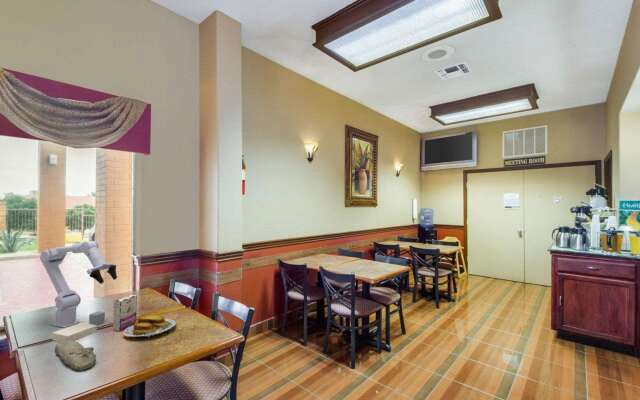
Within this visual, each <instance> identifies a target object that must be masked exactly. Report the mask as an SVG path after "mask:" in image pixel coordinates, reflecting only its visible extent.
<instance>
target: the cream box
mask: <svg viewBox="0 0 640 400" xmlns="http://www.w3.org/2000/svg"><path fill="white" fill-rule="evenodd" d="M97 327H98V326H97V325H92V324H89V323H85V322H80V323H77V324H74V325H71V326H68V327H65V328H64V327H63V328H62V329H59V330H57V331H53V332H51V341H55V342H58V343H59V342H60V341H63V340H67V339H74V341H78V340H80V339H83V338H86V337H87V336H90V335H94V334H96V333H97V331H98V329H97Z"/></svg>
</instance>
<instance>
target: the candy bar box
mask: <svg viewBox="0 0 640 400" xmlns="http://www.w3.org/2000/svg"><path fill="white" fill-rule="evenodd" d="M137 298H138V295H137V294H128V295H126V296H122V297H119V298H117V299H114V300H113V310H112V311H113V312H112V313H113V314H112V315H113V316H112V322H113V323H112V331H116V332H117V331H118V332H122V331H124V330H125V329H126V328H128V327H130V326H133V325H134V324H135V323H136V322H137V309H138V308H137V307H138V305H137V304H138V303H137V302H138V300H137ZM126 330H127V329H126Z"/></svg>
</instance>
